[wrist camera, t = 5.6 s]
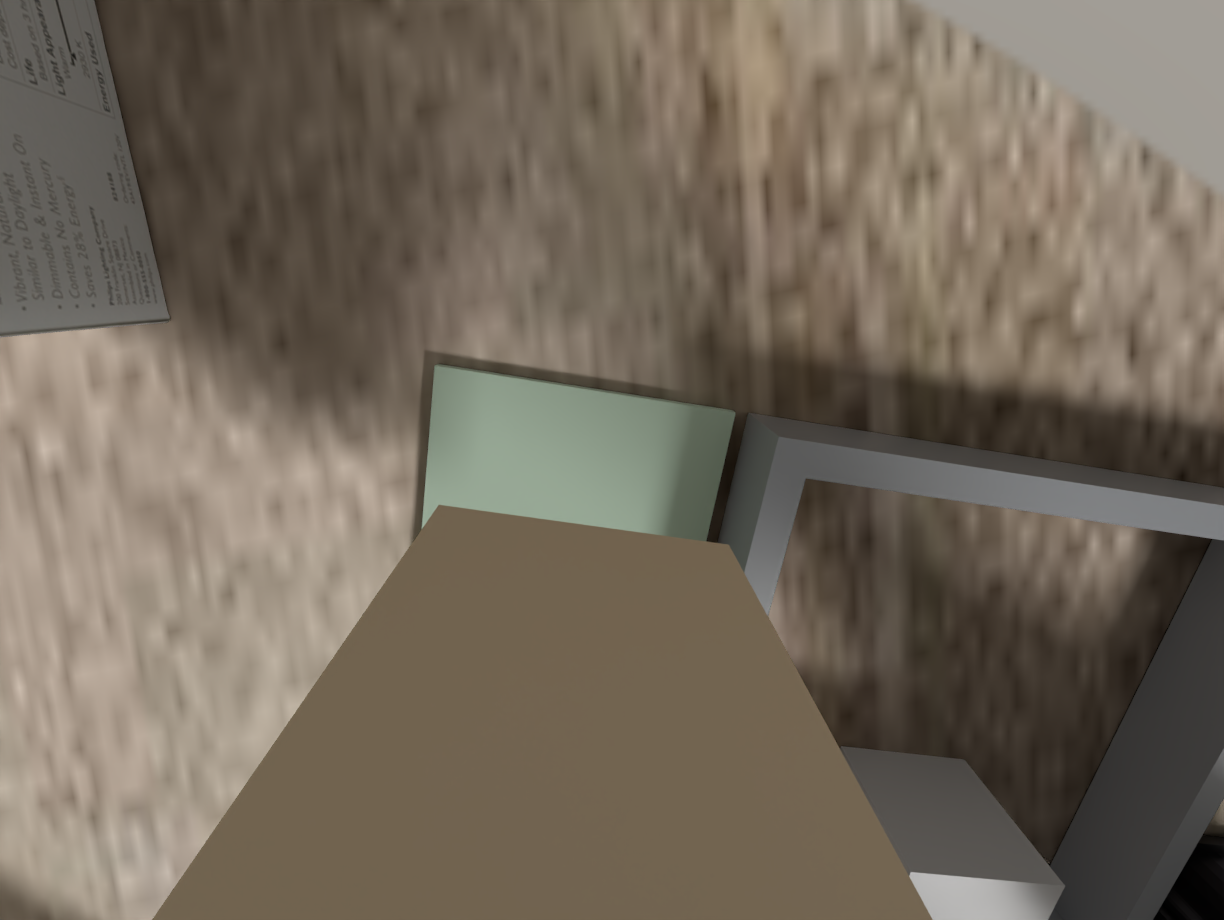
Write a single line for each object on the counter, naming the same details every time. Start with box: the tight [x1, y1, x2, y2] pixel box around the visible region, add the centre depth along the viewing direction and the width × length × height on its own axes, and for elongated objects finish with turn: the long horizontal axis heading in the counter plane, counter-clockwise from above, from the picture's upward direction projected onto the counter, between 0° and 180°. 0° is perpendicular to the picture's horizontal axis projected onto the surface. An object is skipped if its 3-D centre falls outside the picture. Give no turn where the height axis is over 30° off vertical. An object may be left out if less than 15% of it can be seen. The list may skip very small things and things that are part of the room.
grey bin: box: [717, 413, 1224, 920], centre depth 20 cm, size 18×19×3 cm
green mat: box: [422, 364, 736, 541], centre depth 19 cm, size 9×9×1 cm
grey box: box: [840, 746, 1065, 920], centre depth 20 cm, size 5×5×5 cm
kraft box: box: [152, 505, 933, 920], centre depth 7 cm, size 5×7×8 cm
